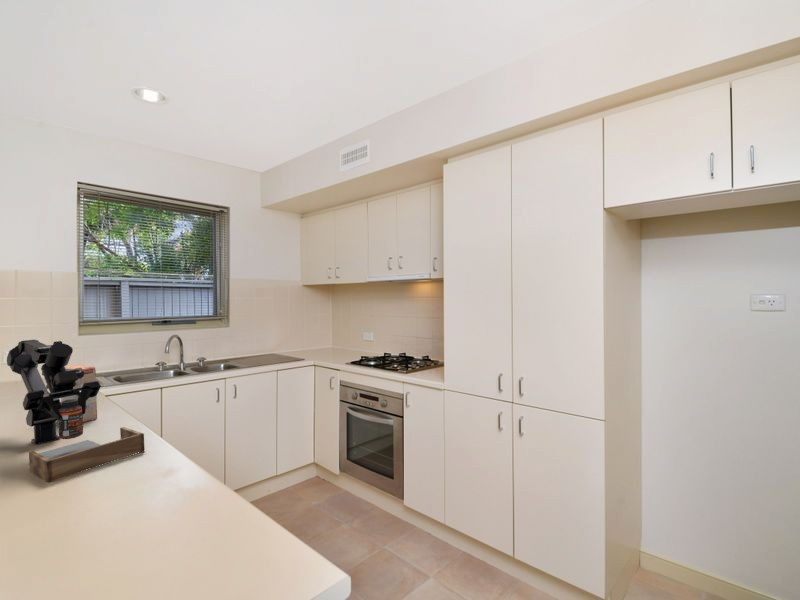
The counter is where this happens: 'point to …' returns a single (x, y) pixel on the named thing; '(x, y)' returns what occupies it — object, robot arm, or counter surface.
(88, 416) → the cracker box
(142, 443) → the open wooden enclosure
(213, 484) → the counter surface
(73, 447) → the mat
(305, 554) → the counter surface
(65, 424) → the supplement bottle
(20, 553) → the counter surface
